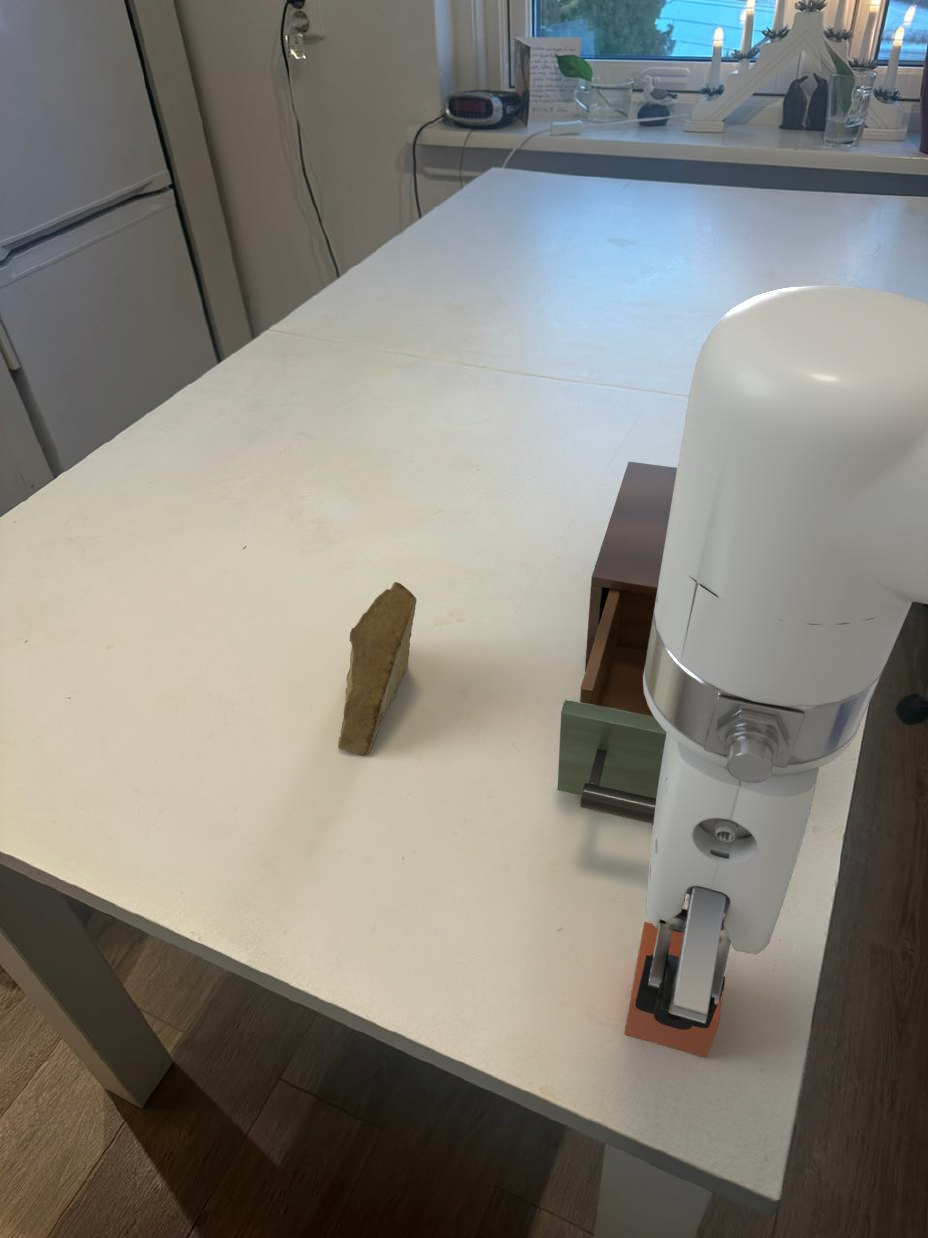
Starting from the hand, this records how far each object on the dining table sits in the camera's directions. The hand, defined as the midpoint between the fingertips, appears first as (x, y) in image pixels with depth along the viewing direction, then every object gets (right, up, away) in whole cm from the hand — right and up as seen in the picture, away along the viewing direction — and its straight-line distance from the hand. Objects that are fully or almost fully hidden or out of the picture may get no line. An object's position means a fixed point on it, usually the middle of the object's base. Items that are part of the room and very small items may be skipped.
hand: (685, 915), depth 42 cm
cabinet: (+7, +14, +30) cm, 34 cm away
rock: (-18, +8, +25) cm, 32 cm away
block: (+1, -7, +7) cm, 10 cm away
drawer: (+2, +5, +19) cm, 20 cm away
